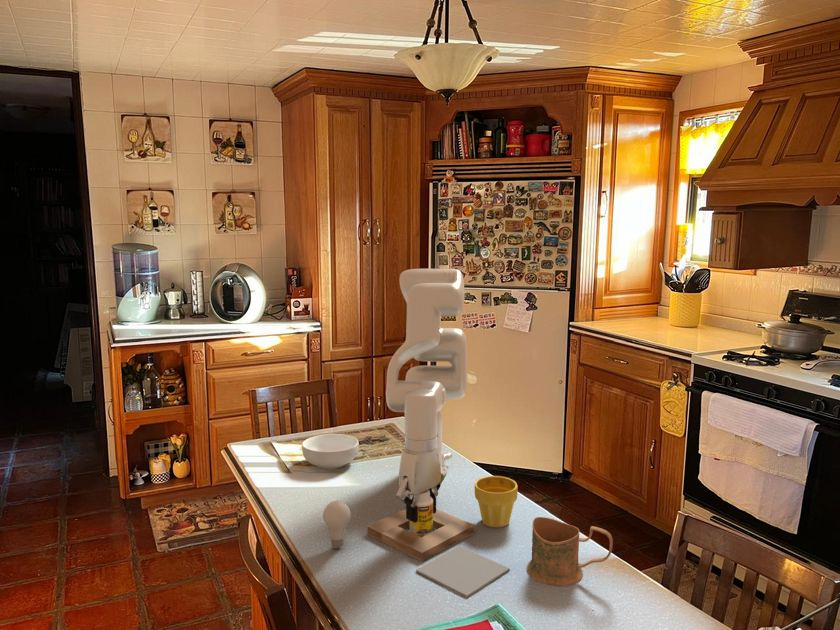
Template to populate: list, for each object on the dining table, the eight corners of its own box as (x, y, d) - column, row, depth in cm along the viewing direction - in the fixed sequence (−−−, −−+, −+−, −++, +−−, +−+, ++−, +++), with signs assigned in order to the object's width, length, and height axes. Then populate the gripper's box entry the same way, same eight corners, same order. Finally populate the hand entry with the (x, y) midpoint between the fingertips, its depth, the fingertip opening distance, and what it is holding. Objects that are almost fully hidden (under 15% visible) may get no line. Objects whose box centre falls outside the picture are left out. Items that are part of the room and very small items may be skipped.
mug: (601, 601, 132) (603, 544, 130) (518, 576, 141) (519, 522, 139) (618, 574, 141) (620, 520, 140) (539, 552, 151) (540, 501, 149)
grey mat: (459, 547, 153) (459, 545, 153) (509, 570, 143) (509, 568, 143) (416, 571, 143) (416, 569, 143) (467, 597, 133) (467, 595, 133)
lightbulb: (356, 544, 154) (355, 499, 153) (342, 557, 149) (340, 510, 147) (333, 539, 157) (332, 494, 155) (318, 551, 151) (317, 505, 150)
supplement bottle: (418, 539, 156) (417, 497, 154) (405, 529, 160) (404, 489, 159) (437, 532, 159) (437, 491, 157) (424, 523, 164) (424, 483, 162)
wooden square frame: (420, 509, 172) (420, 502, 172) (474, 532, 160) (474, 524, 159) (367, 534, 159) (367, 526, 159) (422, 561, 147) (422, 552, 147)
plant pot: (488, 535, 159) (488, 495, 157) (466, 517, 168) (467, 479, 166) (525, 526, 163) (526, 487, 161) (502, 509, 172) (502, 472, 171)
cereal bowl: (370, 461, 205) (369, 438, 204) (335, 479, 192) (334, 455, 190) (327, 450, 214) (326, 429, 213) (290, 467, 201) (289, 444, 199)
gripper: (434, 429, 165) (434, 499, 168) (382, 448, 153) (383, 523, 156) (457, 437, 160) (457, 508, 163) (406, 456, 147) (406, 534, 150)
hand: (421, 515), depth 159 cm, fingers closed on supplement bottle, 5 cm apart
